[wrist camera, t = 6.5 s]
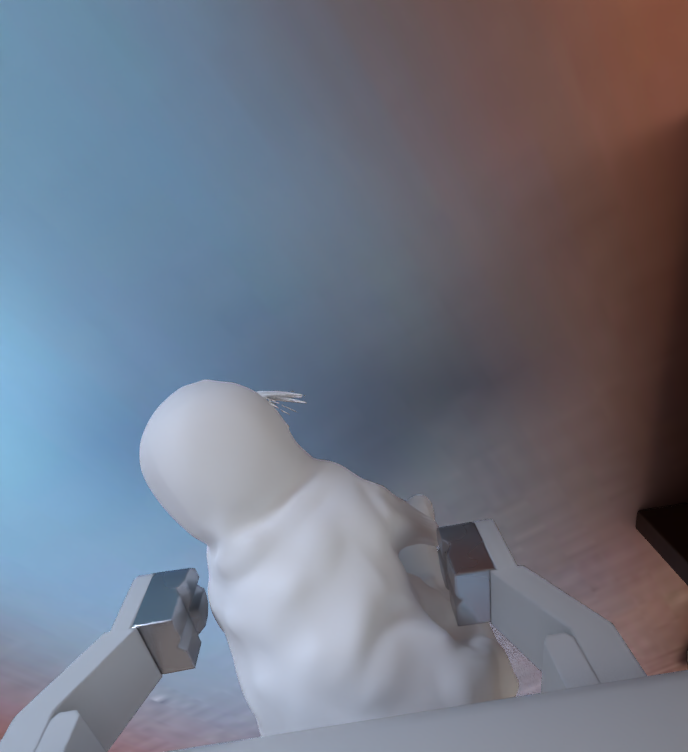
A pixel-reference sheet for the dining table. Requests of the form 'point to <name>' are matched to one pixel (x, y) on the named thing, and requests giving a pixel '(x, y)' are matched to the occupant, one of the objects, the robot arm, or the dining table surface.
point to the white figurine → (313, 569)
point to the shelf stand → (667, 534)
